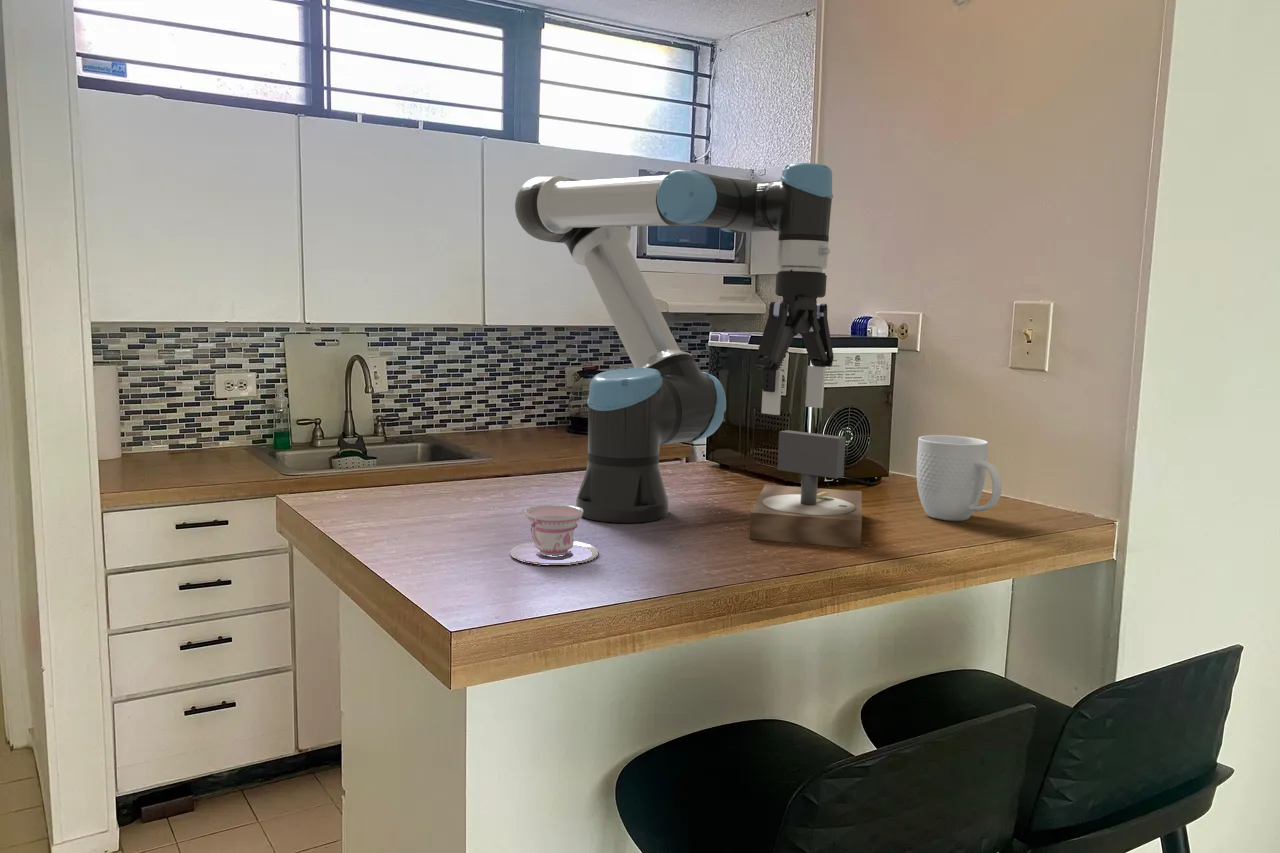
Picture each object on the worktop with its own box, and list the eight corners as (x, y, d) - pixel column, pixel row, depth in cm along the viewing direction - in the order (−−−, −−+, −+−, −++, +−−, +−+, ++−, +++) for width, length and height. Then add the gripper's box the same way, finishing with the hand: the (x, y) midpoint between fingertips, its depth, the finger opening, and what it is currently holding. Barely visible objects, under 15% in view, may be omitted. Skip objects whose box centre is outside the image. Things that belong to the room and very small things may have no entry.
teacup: (544, 539, 131) (545, 497, 130) (615, 552, 125) (616, 508, 124) (491, 558, 121) (491, 513, 120) (565, 573, 115) (566, 526, 114)
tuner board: (749, 538, 134) (750, 510, 133) (764, 507, 155) (765, 482, 154) (860, 548, 130) (862, 518, 129) (860, 514, 151) (861, 489, 151)
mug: (1017, 524, 147) (1023, 445, 145) (974, 532, 141) (980, 449, 139) (941, 506, 159) (946, 433, 157) (899, 513, 153) (904, 437, 151)
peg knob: (834, 509, 135) (838, 438, 134) (776, 499, 141) (779, 431, 140) (854, 502, 140) (858, 434, 139) (797, 493, 146) (800, 427, 145)
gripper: (782, 266, 124) (773, 419, 127) (860, 274, 144) (851, 407, 147) (735, 266, 129) (728, 414, 132) (818, 273, 148) (809, 402, 151)
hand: (793, 410), depth 139 cm, fingers open, 13 cm apart
